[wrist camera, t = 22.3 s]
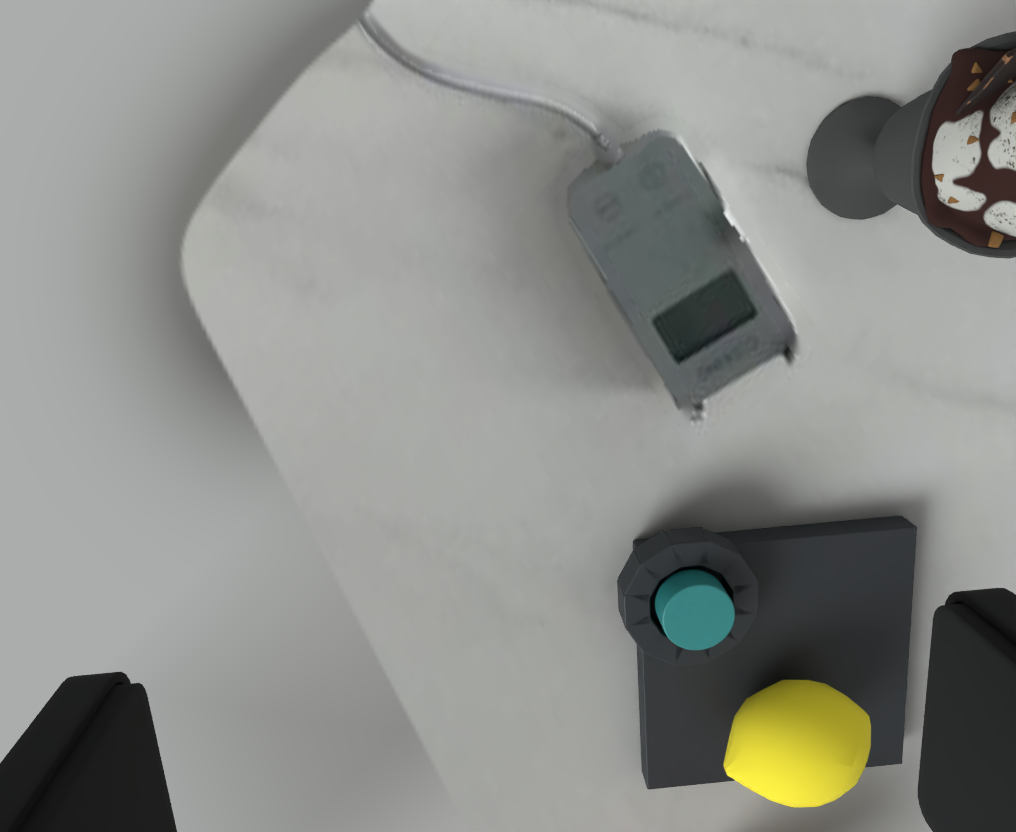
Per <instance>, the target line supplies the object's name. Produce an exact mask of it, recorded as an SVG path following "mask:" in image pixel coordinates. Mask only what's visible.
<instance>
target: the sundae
mask: <svg viewBox="0 0 1016 832" xmlns="http://www.w3.org/2000/svg"><path fill="white" fill-rule="evenodd" d="M807 173H808V179H809V183H810V187H811V189H812V191H813V193H814V194H815V196H816V198H817V199H818V200H819V202H820V203H821V204H822V206H824V207H825V208H827V209H828V210H829V211H831V212H832V213H834V214H836V215H838V216H840V217H844V218H849V219H861V220H862V219H867V218H871V217H875V216H878V215H881V214H883V213H885V212H887V211H888V210H890V209H891V208H893V207H894V206H895V205H896V204H898V205H900V206H902V207H903V208H905V209H907V210H909V211H911V212H913V213H915V214H917V215H918V216H919V218H920V220H921V221H922V223H923V224H924V225H925V226H926V227H928V228H929V229H930V230H931V231H932V232H933V233H934V234H935V235H936V236H937V237H939V238H941V239H942V240H944V241H946V242H947V243H949V244H951V245H953V246H955V247H957V248H959V249H962V250H964V251H966V252H968V253H970V254H975V255H981V256H986V257H994V258H1013V257H1016V32H1011V33H1006V34H1002V35H999V36H996V37H992V38H989V39H986V40H984V41H982V42H980V43H978V44H976V45H975V46H973V47H971V48H965V49H960V50H958V51H957V52H955V53H954V54H953V56H952V59H951V63H950V64H949V65H948V66H947V67H946V69H945V70H944V71H943V72H942V73H941V74H940V76H939V78H938V80H937V82H936V83H935V85H934V87H933V89H932V90H930V91H928V92H926V93H924V94H922V95H920V96H919V97H917V98H916V99H914V100H913V101H911V102H909V103H908V104H906V105H905V106H903V107H901V106H899V105H898V104H896V103H894V102H892V101H891V100H888V99H883V98H879V97H863V98H859V99H855V100H852V101H849V102H846V103H844V104H842V105H841V106H839V107H838V108H837V109H835V110H834V111H833V112H831V113H830V114H829V115H828V116H827V117H826V118H825V119H824V120H823V122H822V123H821V124H820V126H819V127H818V129H817V131H816V132H815V134H814V136H813V138H812V140H811V143H810V147H809V151H808V157H807Z"/></svg>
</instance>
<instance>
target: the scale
mask: <svg viewBox="0 0 1016 832" xmlns="http://www.w3.org/2000/svg"><path fill="white" fill-rule="evenodd" d="M916 531H917V527H916V526H915V525H913V524H912V523H911V522H909V521H908V520H907V519H905V518H904V517H903V516H893V517H882V518H871V519H861V520H850V521H839V522H828V523H817V524H807V525H796V526H785V527H774V528H763V529H753V530H742V531H731V532H720V533H713V532H711V531H708V530H706V529H704V528H702V527H692V528H682V529H671V530H665V531H664V530H663V531H661V532H660V533H658V534H657V535H655V536H653V537H652V538H650V539H645V540H634V541H633V552H632V554H631V555H630V557H629V559H628V561H627V563H626V564H625V566H624V568H623V570H622V572H621V573H620V575H619V577H618V580H617V584H618V606H619V612H620V615H621V617H622V620H623V623H624V626H625V628H626V630H627V631H628V632H629V634H630V635H631V636H632V638H633V639H634V640H635V642H636V643H637V659H638V685H639V710H640V736H641V761H642V773H643V776H644V779H645V783H646V786H647V789H656V788H666V787H676V786H686V785H696V784H706V783H716V782H725V781H735V780H734V779H732V778H731V777H729V776H727V774H726V772H725V770H724V767H723V764H724V759H725V755H726V750H727V745H728V740H729V736H730V732H731V728H732V724H733V720H734V716H735V715H736V713H737V712H738V710H739V709H740V707H741V706H742V704H743V703H744V701H745V700H746V699H747V698H748V697H750V696H752V695H754V694H755V693H757V692H759V691H761V690H762V689H765V688H767V687H769V686H771V685H773V684H775V683H777V682H779V681H781V680H810V681H815V682H820V683H825V684H827V685H829V686H830V687H832V688H834V689H835V690H837V691H839V692H841V693H842V694H844V695H846V696H847V697H848V698H850V699H851V700H852V701H853V702H854V703H856V704H857V705H858V706H859V707H861V708H862V709H863V710H864V711H865V712H866V713H867V714H868V716H869V718H870V723H871V747H870V751H869V755H868V759H867V763H866V766H865V767H874V766H884V765H894V764H902V753H903V738H904V722H905V706H906V690H907V674H908V658H909V642H910V627H911V611H912V595H913V579H914V563H915V547H916ZM689 569H696V570H702V571H705V572H708V573H710V574H712V575H713V576H715V577H716V578H717V579H718V580H719V582H720V583H721V584H722V586H723V588H724V589H725V591H726V592H727V594H728V595H729V597H730V599H731V600H732V602H733V605H734V609H735V619H734V623H733V626H732V628H731V630H730V632H729V633H728V635H727V636H726V637H725V638H724V639H723V640H722V641H721V642H719V643H718V644H716V645H715V646H713V647H710V648H707V649H703V650H688V649H684V648H681V647H679V646H677V645H676V644H674V643H673V642H672V641H671V640H670V639H669V638H668V637H667V635H666V634H665V632H664V629H663V627H662V625H661V623H660V620H659V618H658V616H657V614H656V610H655V599H656V595H657V592H658V590H659V588H660V586H661V585H662V584H663V582H664V581H665V580H666V579H668V578H669V577H670V576H672V575H673V574H675V573H677V572H680V571H683V570H689Z"/></svg>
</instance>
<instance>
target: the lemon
mask: <svg viewBox="0 0 1016 832" xmlns="http://www.w3.org/2000/svg"><path fill="white" fill-rule="evenodd" d="M870 747H871V723H870V718H869V716H868V714H867V713H866V712H865V711H864V710H863V709H862V708H861V707H859V706H858V705H857V704H856V703H854V702H853V701H852V700H851V699H850V698H848V697H847V696H846V695H844V694H842V693H841V692H839V691H837V690H835V689H834V688H832V687H830V686H829V685H827V684H825V683H820V682H815V681H810V680H781V681H779V682H777V683H775V684H773V685H771V686H769V687H767V688H765V689H762V690H761V691H759V692H757V693H755V694H754V695H752V696H750V697H748V698H747V699H746V700H745V701H744V703H743V704H742V706H741V707H740V709H739V710H738V712H737V713H736V715H735V716H734V720H733V724H732V728H731V732H730V736H729V740H728V745H727V750H726V755H725V759H724V764H723V767H724V770H725V772H726V774H727V776H729V777H731V778H732V779H734V780H736V781H737V782H739V783H740V784H742V785H744V786H745V787H747V788H749V789H750V790H752V791H754V792H756V793H758V794H759V795H761V796H763V797H765V798H767V799H769V800H771V801H774V802H777V803H780V804H783V805H786V806H790V807H818V806H821V805H823V804H826V803H829V802H832V801H834V800H837V799H838V798H839V797H840V796H842V795H843V794H844V793H846V792H847V791H848V790H850V789H851V788H852V787H854V786H855V785H856V783H857V781H858V780H859V778H860V776H861V774H862V772H863V771H864V769H865V766H866V763H867V759H868V755H869V751H870Z"/></svg>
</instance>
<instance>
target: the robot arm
mask: <svg viewBox="0 0 1016 832" xmlns="http://www.w3.org/2000/svg"><path fill="white" fill-rule="evenodd" d="M918 799H919V805H920V808H921V811H922V814H923V816H924V818H925V821H926V822H927V824H928V825H929V827H930V828H931V830H932V831H933V832H1016V595H1015V594H1014V593H1012V592H1011V591H1009V590H1007V589H1005V588H992V589H982V590H971V591H961V592H954V593H952V594H951V595H949V597H948V598H947V600H946V602H945V605H943V606H940V607H938V608H937V609H936V611H935V613H934V617H933V626H932V637H931V648H930V659H929V670H928V681H927V693H926V704H925V715H924V726H923V737H922V748H921V759H920V770H919V781H918ZM0 832H177V830H176V825H175V820H174V816H173V811H172V807H171V803H170V798H169V793H168V789H167V785H166V780H165V775H164V770H163V766H162V761H161V757H160V753H159V747H158V743H157V738H156V734H155V729H154V725H153V720H152V715H151V711H150V706H149V702H148V697H147V693H146V690H145V688H144V687H143V685H142V684H140V683H134V684H131V683H130V680H129V679H128V677H127V675H126V674H124V673H122V672H113V673H103V674H94V675H93V674H92V675H82V676H73V677H69V678H67V679H66V680H65V681H64V682H63V683H62V684H61V685H60V687H59V688H58V689H57V691H56V692H55V693H54V694H53V696H52V697H51V698H50V700H49V701H48V702H47V703H46V705H45V706H44V707H43V709H42V710H41V711H40V713H39V714H38V715H37V716H36V718H35V719H34V721H33V722H32V723H31V724H30V726H29V727H28V729H27V730H26V731H25V732H24V733H23V735H22V736H21V737H20V739H19V740H18V741H17V742H16V744H15V745H14V747H13V748H12V749H11V750H10V752H9V753H8V754H7V755H6V757H5V758H4V759H3V761H2V762H1V763H0Z"/></svg>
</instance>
